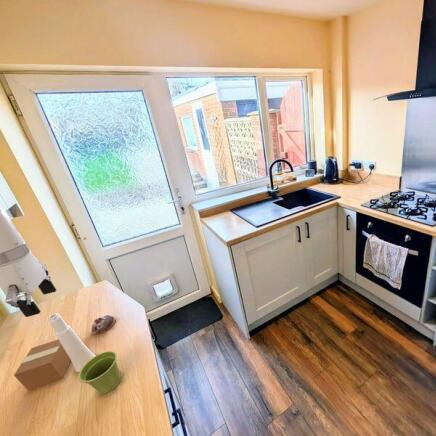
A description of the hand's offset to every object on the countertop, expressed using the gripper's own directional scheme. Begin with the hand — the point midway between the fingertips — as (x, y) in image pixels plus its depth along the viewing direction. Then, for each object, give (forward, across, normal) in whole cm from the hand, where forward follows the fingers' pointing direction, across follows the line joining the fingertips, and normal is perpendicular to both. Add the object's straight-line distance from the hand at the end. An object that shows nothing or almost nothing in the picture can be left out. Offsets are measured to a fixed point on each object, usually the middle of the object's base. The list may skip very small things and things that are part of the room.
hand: (42, 303), depth 72 cm
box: (+27, -2, -9) cm, 29 cm away
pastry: (+28, -16, +2) cm, 32 cm away
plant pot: (+27, +12, +11) cm, 32 cm away
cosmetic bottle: (+28, 0, +1) cm, 28 cm away
